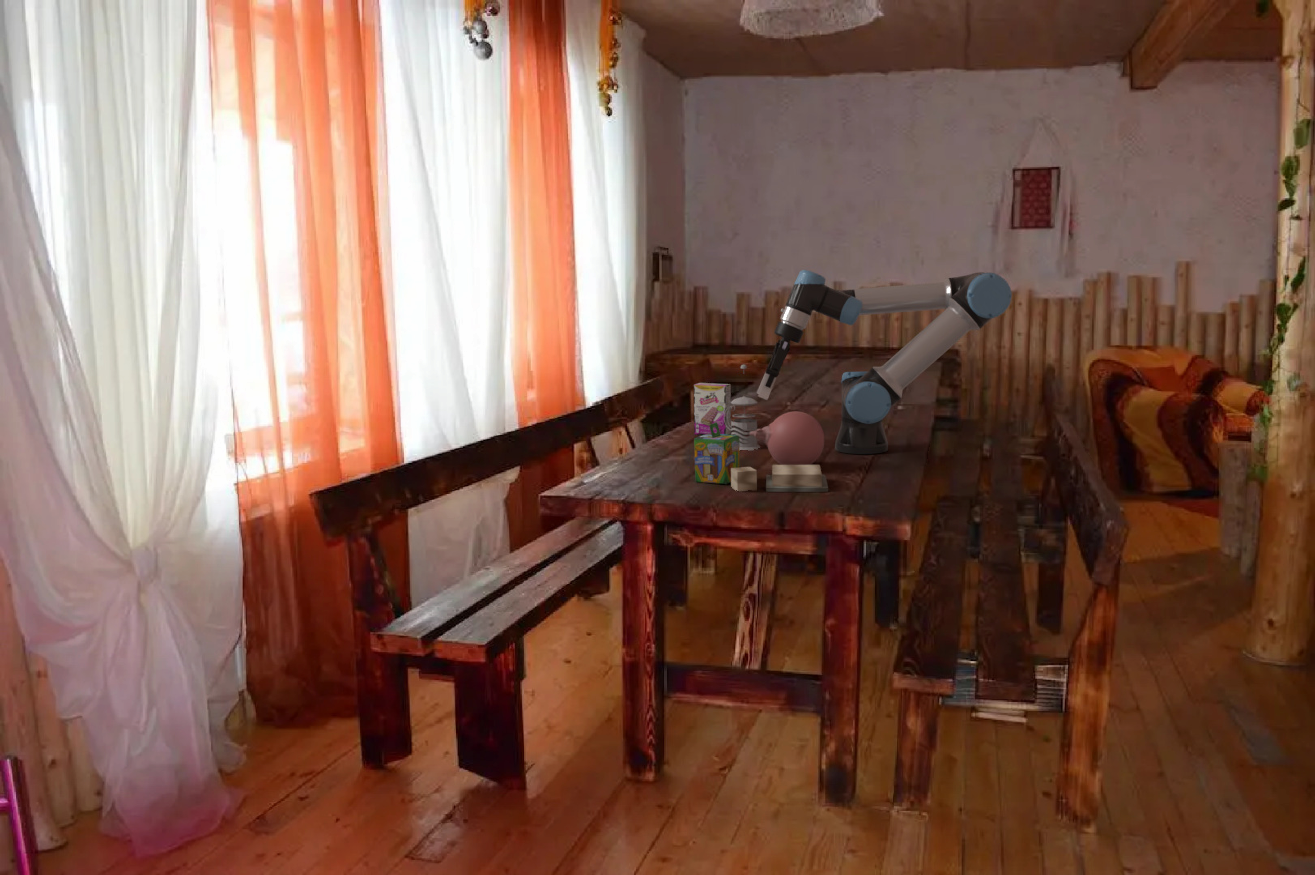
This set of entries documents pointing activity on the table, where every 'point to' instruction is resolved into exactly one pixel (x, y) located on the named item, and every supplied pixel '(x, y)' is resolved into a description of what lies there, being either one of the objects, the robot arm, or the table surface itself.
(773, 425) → the balloon
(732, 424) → the french press
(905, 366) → the robot arm
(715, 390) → the candy bar box
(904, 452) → the table surface
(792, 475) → the plinth
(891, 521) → the table surface
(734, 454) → the chalk box
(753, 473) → the birch block
